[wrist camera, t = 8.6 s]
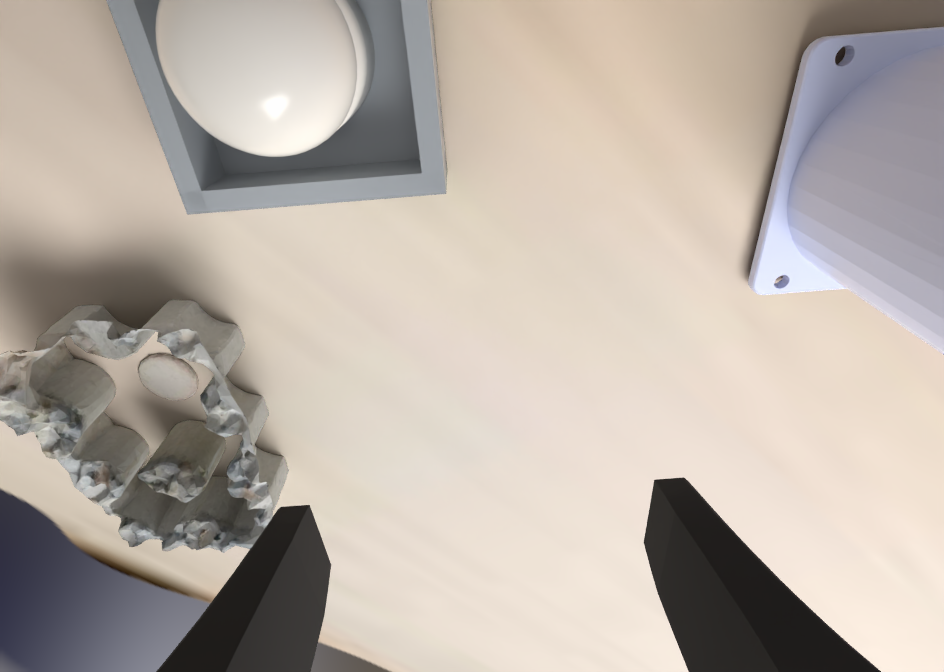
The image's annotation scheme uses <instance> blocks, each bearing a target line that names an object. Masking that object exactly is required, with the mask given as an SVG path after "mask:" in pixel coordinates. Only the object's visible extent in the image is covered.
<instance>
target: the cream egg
mask: <svg viewBox="0 0 944 672" xmlns="http://www.w3.org/2000/svg"><path fill="white" fill-rule="evenodd" d="M155 30H156V44H157V50H158V56H159V59H160V63H161V66H162V70H163V72H164V75H165V77H166V79H167V82H168V84H169V86H170V88H171V89H172V91H173V93H174V95H175V96H176V98H177V99H178V101H179V102H180V104H181V105H182V107H183V108H184V109H185V110H186V111H187V113H188V114H189V115H190V116H191V117H192V118H193V119H194V120H195V121H196V122H197V123H198V124H199V125H200V126H201V127H202V128H203V129H204V130H206V131H207V132H208V133H209V134H211V135H212V136H214V137H215V138H217V139H218V140H220V141H221V142H223V143H225V144H227V145H229V146H231V147H233V148H236V149H239V150H241V151H244V152H247V153H251V154H255V155H259V156H267V157H284V156H291V155H297V154H300V153H303V152H306V151H308V150H310V149H313V148H315V147H317V146H318V145H320V144H321V143H323V142H324V141H326V140H327V139H328V138H329V137H331V136H332V135H333V134H334V133H335V132H336V131H337V130H338V129H339V128H340V127H341V126H342V125H343V124H345V123H346V122H347V121H348V120H349V119H350V118H351V117H352V116H353V115H354V114H355V113H356V112H357V111H358V110H359V109H360V107H361V106H362V105H363V103H364V101H365V100H366V98H367V96H368V93H369V91H370V89H371V85H372V81H373V77H374V70H375V51H374V43H373V39H372V34H371V31H370V28H369V25H368V22H367V20H366V18H365V16H364V13H363V12H362V10H361V8H360V6H359V5H358V3H357V2H356V0H160V1H159V5H158V10H157V14H156V27H155Z"/></svg>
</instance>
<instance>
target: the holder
mask: <svg viewBox="0 0 944 672" xmlns="http://www.w3.org/2000/svg"><path fill="white" fill-rule="evenodd" d="M106 1H107V3H108V6H109V9H110V11H111V14H112V16H113V19H114V22H115V24H116V27H117V30H118V32H119V35H120V38H121V40H122V43H123V46H124V48H125V51H126V53H127V56H128V59H129V61H130V64H131V67H132V69H133V72H134V75H135V77H136V80H137V82H138V85H139V88H140V90H141V93H142V96H143V98H144V101H145V104H146V106H147V109H148V112H149V114H150V117H151V119H152V122H153V125H154V127H155V130H156V133H157V135H158V138H159V141H160V143H161V146H162V148H163V151H164V154H165V156H166V159H167V162H168V164H169V167H170V170H171V172H172V175H173V178H174V180H175V183H176V185H177V188H178V191H179V193H180V196H181V199H182V201H183V204H184V207H185V209H186V212H187V214H200V213H212V212H225V211H237V210H250V209H262V208H275V207H287V206H300V205H312V204H324V203H337V202H349V201H362V200H374V199H387V198H399V197H412V196H424V195H436V194H446V187H447V163H446V153H445V142H444V132H443V121H442V111H441V101H440V90H439V80H438V69H437V59H436V48H435V38H434V27H433V17H432V6H431V0H356V2H357V3H358V5H359V6H360V8H361V10H362V12H363V13H364V16H365V18H366V20H367V22H368V25H369V28H370V31H371V34H372V39H373V43H374V51H375V70H374V77H373V81H372V85H371V89H370V91H369V93H368V96H367V98H366V100H365V101H364V103H363V105H362V106H361V107H360V109H359V110H358V111H357V112H356V113H355V114H354V115H353V116H352V117H351V118H350V119H349V120H348V121H347V122H346V123H345V124H343V125H342V126H341V127H340V128H339V129H338V130H337V131H336V132H335V133H334V134H333V135H332V136H331V137H329V138H328V139H327V140H326V141H324V142H323V143H321V144H320V145H318V146H317V147H315V148H313V149H310V150H308V151H306V152H303V153H300V154H297V155H291V156H284V157H267V156H259V155H255V154H251V153H247V152H244V151H241V150H239V149H236V148H233V147H231V146H229V145H227V144H225V143H223V142H221V141H220V140H218V139H217V138H215V137H214V136H212V135H211V134H209V133H208V132H207V131H206V130H204V129H203V128H202V127H201V126H200V125H199V124H198V123H197V122H196V121H195V120H194V119H193V118H192V117H191V116H190V115H189V114H188V113H187V111H186V110H185V109H184V108H183V107H182V105H181V104H180V102H179V101H178V99H177V98H176V96H175V95H174V93H173V91H172V89H171V88H170V86H169V84H168V82H167V79H166V77H165V75H164V72H163V70H162V66H161V63H160V59H159V56H158V50H157V44H156V30H155V27H156V14H157V10H158V5H159V1H160V0H106Z"/></svg>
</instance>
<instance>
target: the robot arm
mask: <svg viewBox="0 0 944 672" xmlns="http://www.w3.org/2000/svg"><path fill="white" fill-rule="evenodd" d="M842 47H844V48H845V56H844V58H843V60H842V61H841V62H840V63H839V64H837V65H836V63H835V56H836V54H837V52H838V51H839V50H840V49H841V48H842ZM782 275H783V278H782V280H781V281H779V282H778V283H775V284H774V282H775V280H776V279H777V278H778V277H779V276H782ZM748 285H749V287H750V288H751V289H752V290H753V291H754V292H755V293H757V294H759V295H769V294H782V293H795V292H808V291H821V290H834V289H848V290H850V291H851V292H853V293H854V294H855V295H857V296H858V297H860V298H861V299H863V300H864V301H866V302H867V303H869V304H870V305H872V306H873V307H875V308H876V309H877V310H879V311H880V312H882V313H883V314H885V315H886V316H888V317H889V318H891V319H892V320H894V321H895V322H897V323H898V324H899V325H901V326H902V327H904V328H905V329H907V330H908V331H910V332H911V333H913V334H914V335H916V336H917V337H919V338H920V339H921V340H923V341H924V342H926V343H927V344H929V345H930V346H932V347H933V348H935V349H936V350H938V351H939V352H941V353H942V354H943V355H944V27H933V28H921V29H909V30H897V31H885V32H873V33H861V34H849V35H837V36H825V37H821V38H818V39H816V40H815V41H813V42H812V43H810V45H809V46H808V47H807V48H806V50H805V51H804V54H803V56H802V59H801V63H800V67H799V71H798V75H797V80H796V84H795V88H794V92H793V96H792V100H791V105H790V109H789V113H788V117H787V121H786V125H785V130H784V134H783V138H782V142H781V146H780V150H779V155H778V159H777V163H776V167H775V171H774V175H773V180H772V184H771V188H770V192H769V196H768V200H767V205H766V209H765V213H764V217H763V221H762V225H761V230H760V234H759V238H758V242H757V246H756V250H755V255H754V259H753V263H752V267H751V271H750V275H749V280H748ZM644 545H645V549H646V552H647V556H648V560H649V564H650V567H651V571H652V574H653V578H654V581H655V585H656V588H657V592H658V595H659V597H660V600H661V602H662V605H663V608H664V610H665V613H666V615H667V618H668V620H669V623H670V625H671V628H672V631H673V633H674V636H675V638H676V641H677V643H678V646H679V648H680V651H681V653H682V656H683V658H684V661H685V663H686V666H687V668H688V671H689V672H881V671H880V670H878V669H877V668H876V667H875V666H874V665H873V664H871V663H870V662H869V661H868V660H867V659H866V658H864V657H863V656H862V655H861V654H860V653H858V652H857V651H856V650H855V649H854V648H853V647H852V646H850V645H849V644H848V643H847V642H846V641H845V640H844V639H843V638H841V637H840V636H839V635H838V634H837V633H836V632H835V631H834V630H833V629H832V628H830V627H829V626H828V625H827V624H826V623H825V622H824V621H823V620H822V619H821V618H820V617H819V616H817V615H816V614H815V613H814V612H813V611H812V610H811V609H810V608H809V607H808V606H807V605H806V604H805V603H804V602H803V601H801V600H800V599H799V598H798V597H797V596H796V595H795V594H794V593H793V592H792V591H791V590H790V589H789V588H788V587H787V586H786V585H785V584H784V583H783V582H782V581H781V580H780V579H779V578H778V577H777V576H776V575H775V574H774V573H773V572H772V571H771V570H770V569H769V568H768V567H767V566H766V565H765V564H764V563H763V562H762V561H761V560H760V559H759V558H758V557H757V556H756V555H755V554H754V553H753V552H752V551H751V550H750V548H749V547H748V546H747V545H746V544H745V543H744V542H743V541H742V540H741V539H740V538H739V537H738V536H737V535H736V534H735V533H734V531H733V530H732V529H731V528H730V527H729V526H728V525H727V524H726V523H725V522H724V521H723V520H722V518H721V517H720V516H719V515H718V514H717V513H716V512H715V511H714V510H713V508H712V507H711V506H710V505H709V504H708V503H707V502H706V501H705V499H704V498H703V497H702V496H701V495H700V494H699V493H698V492H697V490H696V489H695V488H694V487H693V486H692V485H691V484H690V483H689V481H687V480H686V479H685V478H673V479H659V480H654V486H653V492H652V498H651V503H650V509H649V515H648V521H647V527H646V533H645V538H644ZM330 569H331V563H330V561H329V558H328V555H327V552H326V549H325V547H324V544H323V541H322V538H321V536H320V533H319V530H318V527H317V525H316V522H315V519H314V516H313V513H312V511H311V508H310V505H303V506H289V507H280V508H279V509H278V510H277V512H276V513H275V515H274V516H273V517H272V519H271V520H270V522H269V523H268V525H267V526H266V527H265V529H264V530H263V532H262V533H261V535H260V536H259V538H258V539H257V540H256V542H255V543H254V545H253V546H252V548H251V549H250V550H249V552H248V553H247V555H246V556H245V557H244V559H243V560H242V562H241V563H240V565H239V566H238V567H237V569H236V570H235V572H234V573H233V574H232V576H231V577H230V578H229V580H228V581H227V582H226V584H225V585H224V586H223V588H222V589H221V590H220V592H219V593H218V594H217V596H216V597H215V598H214V600H213V601H212V603H211V604H210V605H209V607H208V608H207V609H206V611H205V612H204V613H203V615H202V616H201V617H200V619H199V620H198V621H197V622H196V623H195V625H194V626H193V627H192V629H191V630H190V631H189V632H188V633H187V635H186V636H185V637H184V638H183V640H182V641H181V642H180V643H179V645H178V646H177V647H176V648H175V650H174V651H173V652H172V653H171V655H170V656H169V657H168V658H167V659H166V661H165V662H164V663H163V664H162V666H161V667H160V668H159V669H158V670H157V672H310V671H311V667H312V663H313V659H314V655H315V651H316V647H317V643H318V639H319V635H320V631H321V627H322V622H323V618H324V613H325V606H326V599H327V592H328V585H329V577H330Z"/></svg>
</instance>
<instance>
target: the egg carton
mask: <svg viewBox="0 0 944 672" xmlns="http://www.w3.org/2000/svg"><path fill="white" fill-rule="evenodd" d="M155 332H158V340H157V342H160V343H162V344H164V345H166V346H167V347H168V348H169V349H170V351H171V353H172V354H173V355H174V356H172V355H169V354H153V355H150V356H148V357H147V358H145V359H144V360H143V361H141V363H140V366H139V369H138V372H139V377H140V380H141V381H142V383H143V385H144V386H145V387H146V388H147V389H148V390H150V391H151V392H152V393H154V394H155V395H157V396H160V397H162V398H165V399H168V400H175V401H179V400H184V399H188V398H189V397H191V396H193V395H194V394H195V392H196V390H197V389H198V377H197V374H196V372H195V371H194V370H193V369H192V367H191V366H190V365H188V364H187V363H186V362H184V361H183V360H181V359H179V358H185V359H187V360H189V361H192V362H197V363H201V364H203V365H205V366H206V367H207V368H209V369H210V370H211V371H212V372H213V374H214V377H213V378H212V380H211V381H210V383H209V384H208V386H207V387H206V388H205V390H204V391H203V393H202V394H201V395H200V396H201V403H202V406H203V408H204V410H205V413H206V415H207V423H204V422H201V421H195V420H188V421H183V422H180V423H177V424H176V425H175V426H174V427H173V428H172V430H171V431H170V433H169V434H168V436H167V437H166V438H165V439H164V441H163V442H162V444H161V445H160V447H159V448H158V449H157V451H156V452H155V454H154V455H153V456H152V458H151V459H150V460H149V462H148V463H147V465H146V466H145V467H144V468H142V469H141V470H140V471H139V472H138V473H137V471H138V470H139V468H140V467H141V466H142V464H143V463H144V461H145V459H146V458H147V456H148V455H149V447H148V444H147V443H146V441H145V440H144V439H143V438H142V437H141V436H140V435H139V434H138V433H136V432H135V431H133V430H130V429H128V428H125V427H121V426H117V425H114V424H113V423H112V421H111V420H110V418H109V417H108V416H107V415H106V414H105V413H104V410H105V409H106V407H107V406H108V405H109V403H110V402H111V401H112V399H113V398H114V396H115V393H116V386H115V383H114V381H113V380H112V378H111V377H110V376H109V375H108V374H107V373H106V372H105V371H104V370H103V369H101V368H100V367H98V366H97V365H95V364H92V363H89V362H87V361H84V360H79V359H74V358H73V357H72V355H71V353H70V352H69V350H68V349H67V347H66V345H65V343H64V338H65V337H71V338H72V340H73V341H74V343H75V344H76V345H77V346H79V347H80V348H81V349H83V350H84V351H86V352H88V353H92V354H95V355H99V356H102V357H105V358H108V359H116V360H119V359H123V358H126V357H129V356H131V355H133V354H134V353H136V352H137V351H138V350H139V349H140V348H141V347H142V346H143V345H144V344H145V343H146V342H147V340H148V339H149V338H150V337H151V336H152V335H153V334H154V333H155ZM244 348H245V342H244V338H243V335H242V332H241V330H240V328H239V326H237V325H235V324H231V323H224V322H221V321H218V320H216V319H214V318H212V317H211V316H209V315H208V314H207V313H206V312H204V310H203V309H202V308H201V307H200V306H199V304H198V303H196V302H195V301H192V300H170V301H168V302H167V303H166V304H165V305H164V306H163V307H162V308H161V309H160V310H159V311H158V312H157V313H156V314H155V315H154V316H153V317H152V318H151V319H150V320H149V321H148V322H147V323H146V324H145V325H144V326H143V327H142V328H141V329H136V328H132V327H129V326H127V325H125V324H122V323H121V322H119V321H118V320H116V319H115V318H114V317H113V316H112V315H111V314H110V313H109V312H108V311H107V310H106V308H105V307H104V306H102V305H82V306H77V307H75V308H74V309H73V310H71V311H70V312H69V313H68V314H66V315H65V316H64V317H63V318H62V319H60V320H59V321H58V322H56V323H55V324H53V325H52V326H50V328H49V329H48V330H47V331H46V332H45V333H43V334H42V335H41V336H39V337H38V338H37V343H36V348H35V350H34V351H32V352H27V351H24V350H22V351H18V352H11V351H8V352H5V353H2V354H0V421H2V422H4V423H6V424H7V425H8V426H9V427H11V428H12V429H14V430H15V432H16V434H17V436H18V435H23V434H26V433H29V432H35V434H36V437H37V439H38V441H39V442H40V444H41V448H42V451H43V453H44V454H45V456H46V457H48V458H51V459H57V460H58V461H59V463H60V464H61V465H62V466H63V467H64V468H65V469H66V470H67V471H68V472H69V474H70V477H71V479H72V482H73V484H74V487H75V488H76V489H78V490H79V491H80V492H82V493H83V494H84V495H85V496H86V497H87V498H88V499H90V500H91V501H92V502H93V503H95V504H97V505H100V506H102V507H103V509H104V511H105V513H106V514H108V515H110V516H118V517H120V518H121V524H120V527H119V534H120V536H121V537H122V539H123V540H126V541H128V543H129V547H135V546H138V545H140V544H141V543H142V542H144V541H145V540H148V539H160V540H162V541H163V542H162V551H170V550H172V549H174V548H176V547H178V546H181V545H186V546H188V547H189V548H191V549H196V550H199V549H203V548H212V549H216V550H220V551H221V552H223V553H224V552H225V551H227V550H228V549H230V548H232V547H234V546H239V547H244V548H248V549H251V548H252V546H253V545H254V543H255V542H256V540H257V539H258V538H259V536H260V535H261V533H262V532H263V530H264V529H265V527H266V526H267V525H268V523H269V522H270V520H271V519H272V514H273V510H274V508H275V506H276V504H277V502H278V499H279V496H280V493H281V490H282V488H283V486H284V483H285V481H286V477H287V474H288V471H289V469H288V466H287V463H286V460H285V458H284V457H283V456H279V455H273V454H269V453H267V452H264V451H262V450H260V449H259V448H257V447H256V446H255V443H256V441H257V438H258V436H259V434H260V431H261V429H262V428H263V425H264V423H265V421H266V419H267V417H268V416H269V411H268V408H267V405H266V402H265V399H264V398H263V397H262V396H259V395H255V394H250V393H247V392H245V391H242V390H240V389H238V388H237V387H236V386H234V385H233V384H232V383H231V382H230V380H229V379H228V378H227V376H226V375H227V373H228V372H229V371H230V369H231V368H232V366H233V364H234V363H235V361H236V360H237V359H238V358H239V356H240V354H241V352H242V351H243V350H244ZM236 434H239V435H242V437H243V440H242V442H241V443H240V448H239V450H238V452H237V454H236V456H235V457H234V459H233V460H232V461H231V463H230V464H229V466H228V468H227V475H228V478H227V477H221V476H212V474H213V472H214V470H215V469H216V467H217V465H218V463H219V461H220V459H221V457H222V455H223V453H224V451H225V449H226V440H225V438H224V437H229V436H232V435H236ZM211 476H212V477H211Z"/></svg>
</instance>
